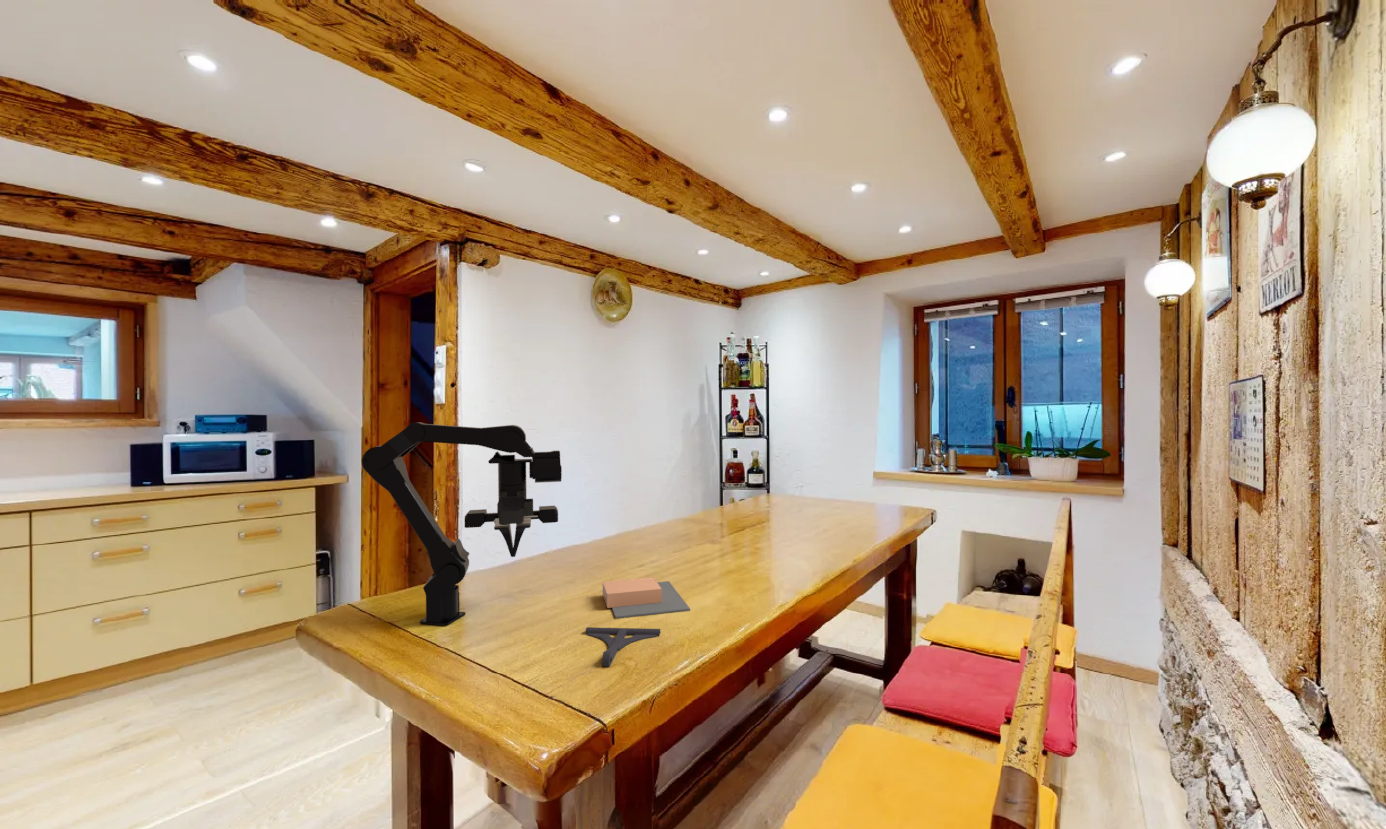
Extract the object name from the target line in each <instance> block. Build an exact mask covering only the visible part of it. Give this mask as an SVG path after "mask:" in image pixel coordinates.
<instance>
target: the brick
mask: <svg viewBox="0 0 1386 829" xmlns="http://www.w3.org/2000/svg"><path fill="white" fill-rule="evenodd" d="M657 582H658V581H657V580H656V579H655V577H640V578H631V579H618V580H607V581H602V596H603V599H604V603H605V605H606V608H608V609H612V607H621V606H631V605H641V604H650V603H660V602H662V589H661V587H660V586H659V584H658V583H657Z"/></svg>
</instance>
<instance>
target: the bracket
mask: <svg viewBox="0 0 1386 829" xmlns="http://www.w3.org/2000/svg"><path fill="white" fill-rule="evenodd" d="M584 633H585V635H587V636H588V637H594V638H595V639H599V640H601V641H602V642H604V643H606V645H607V646H608V648H607V649H606V650H604V651H603V652H602V658H601V667H603V668H610V667H611V665H612V663H613V661H614V659H615V657H616V655H617V654H618V652H619V651H620V650H622V649H623V648H624V647H627V646H628V645H630V644H633V643H636V642H639V641H643V640H647V639H653V638H657V637H660V634H661V629H660V628H637V627H636V628H632V627H629V628H627V627H594V626H589V627H585V632H584ZM612 636H615V637H612ZM626 636H627V637H626ZM629 636H631V637H629Z"/></svg>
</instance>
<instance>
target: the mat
mask: <svg viewBox="0 0 1386 829" xmlns="http://www.w3.org/2000/svg"><path fill="white" fill-rule="evenodd" d="M656 582H657V583H658V584H659V586H660V587H661V589H662V602H660V603H650V604H641V605H631V606H621V607H612V608H611V610H612V612H613V615H614V618H615V619H616V618H617V619H625V618H624V617H626V618H632V617H633V616H634V617H633V618H635V617H645V616H653V615H662V614H670V613H671V614H672V613H678V612H679V613H681V612H688V611H691V607H690V606H689V605H688V604H687V603H686V601H685V600H684V599H683V597H682V595H680V594H679V592H678V590H676V588H675V587H674V586H673V584H672V583H671V582H670V580H668V581H667V580H666V581H656Z"/></svg>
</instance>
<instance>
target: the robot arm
mask: <svg viewBox="0 0 1386 829" xmlns="http://www.w3.org/2000/svg"><path fill="white" fill-rule="evenodd" d="M526 436H527V435H526V432H525V430H523V428H522V427H520V426H519V425H515V424H510V425H509V424H508V425H499V426H497V425H496V426H487V427H476V426H474V427H473V426H460V425H459V426H458V425H448V424H447V425H445V424H432V423H431V424H430V423H425V422H411V423H409V424H408V425H407V426H406V427H405V428H404V429H403V430H402V431H400V432H398V434H396V435H394V436H393V437H391V438H390V439H388V440H387V441H385V442H383V444H382V445H376V446H373V447H371V448H368V450H365V452H364V454H363V455H362V458H361V466H362V468H363V470H364V471H365V472H366V473H367V475H369V476H370V477H371V479H373V480H374V482H376V483H377V484H378V485H380V487H382V488H383V489H385V490H386V491H387V492H389V495H391V497H392V499H393V501H394V502H395V503H396V505H397V507H398V508H399V509H400V511H401V513H402V514H403V515H404V517H405V518H406V520H407V521H408V523H409V525H410V526H411V528H412V530H414V532H415V534H416V535H417V537H418V538H419V540H420V541H421V543H422V544H423V546H424V548H425V549H426V552H427V554H428V556H427V557H428V560H429V564H430V566H431V569H432V571H433V573H432V574H431V575H430V577H429V578H428V580H427V581H426V582H425V584H424V586H423V588H422V589H423V592H424V594H425V617H424V618H422V619H420V620H419V624H423V625H424V624H425V625H435V626H436V625H437V626H448V625H451V624H452V623H454V622H455V621H457V620H459V619H460V618H462V617H464V616H466V611H460V591H459V590H460V589H459V588H460V586H459V584H460V583H461V582H462V581H463V580H464V578H465V576H466V574H467V572H468V570H469V566H470V559H469V556H470V552H469V551H467V550H466V549H465V548H464V546H463V543H462V540H461V539H460V538H458V539H456V540H455V541H453V540H452V539H450V538H448V536H446V534H445V533H444V531H443V530H442V528H441V527H440V525H439V524H438V523H437V520H436V519H435V518H434V516H433V514H432V512H430V510H429V508H428V507H427V505H426V504H425V502H424V501H423V499H422V497H421V496H420V494H419V493H418V491H417V490H416V488H415V486H414V485H413V483H412V482H411V480H410V478H409V474H408V470H407V466H406V463H405V461H404V459H403V457H405V456H406V455H407V454H409V453H410V452H411V451H412V450H414V448H415V447H417V445H419V444H420V443H437V444H440V443H441V444H453V445H454V444H455V445H456V444H457V445H471V446H480V447H484V448H488V449H492V450H495V451H496V452H495V453H494V455H493V456H492V457H491V458H490V459H489V460H488V462H487V463H488V464H490V465H491V464H497V467H498V468H497V470H498V471H497V475H498V478H497V479H498V480H497V481H498V486H497V487H498V489H497V490H498V492H497V493H498V494H497V496H498V502H497V504H496V506H497V508H496V509H497V510H496V512H487V511H488V510H487V508H486V509H482V508H481V509H470V510H469V511H468V512H466V514H465V516H464V528H466V529H470V528H481V527H483V525H484V524H486V523H493V524H494V527H493V530H494V531H499V532H500V533H501V535H502V537H503V539H504V541H505V543H506V546H507V549H508V552H509V554H510V558H516V555H517V552H518V549H519V545H520V542H521V539H522V537H523V534H524V532H525V530H526V529H530V528H531V524H532V520H539V521H540V522H541V523H543V524H549V523H550V524H552V523H558V522H559V509H558V507H556V505H544V506H543V505H542V506H541V505H539V506H538V510H534V498H527V463H528V464H529V468H528V470H529V472H528V473H529V479H532V480H534V484H536V483H558V482H559V483H561V482H562V476H563V474H562V470H563V469H562V465H561V464H562V463H561V451H560V450H551V451H535V450H534V448H533V447H532V446H530V444H529V443H528V442H527V441H526V440H527V437H526ZM500 452H504V453H509V454H501V453H500ZM512 453H513V454H512ZM514 453H516V454H518V455H520V456H521V457H522V458H516V454H514ZM512 524H513V525H514V524H515V525H516V526H515V533H514V538H513V536H512V526H511V525H512ZM513 539H514V540H513Z"/></svg>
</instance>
